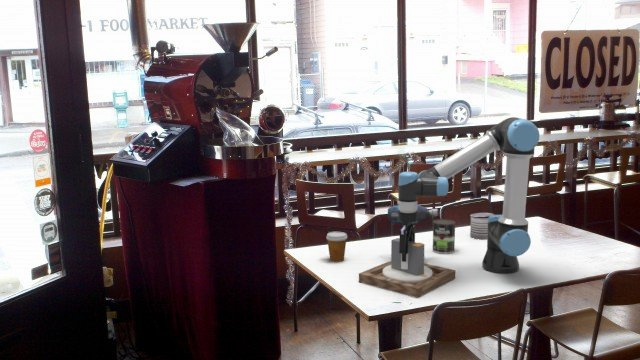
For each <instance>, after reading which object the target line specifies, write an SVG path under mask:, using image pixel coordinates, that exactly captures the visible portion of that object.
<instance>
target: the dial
mask: <svg viewBox="0 0 640 360" xmlns="http://www.w3.org/2000/svg"><path fill="white" fill-rule="evenodd" d="M390 241H391V243H390V244H391V245H390V246H391V247H390V248H391V250H390V251H391V253H390V254H391V256H390V261H391V265H389V266H386V267H385V268H384V269H383V277H386V278H391V279H394V280H398V281H402V282H406V283H410V284H418V283H420V282H422V281H424V280H427V279H429V278H431V277H432V270H431V269H430V268H428V267H426V266H424V263H425V243H422V242H416V241H415V242H411V241H409V242H408V270H407V269H401V253H399V242H400V237H397V238H393V239H391V240H390Z"/></svg>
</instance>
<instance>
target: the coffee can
mask: <svg viewBox="0 0 640 360" xmlns="http://www.w3.org/2000/svg"><path fill="white" fill-rule="evenodd" d="M432 225H433V226H432V227H433V228H432V252H433V253H436V254H441V255H442V254H443V255H448V254H449V255H450V254H454V253H455V248H456V247H455V246H456V245H455V241H456V239H455V238H456V221H454V220H452V219H446V218H445V219H443V218H441V219H434V220H433V221H432Z"/></svg>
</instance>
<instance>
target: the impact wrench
mask: <svg viewBox="0 0 640 360" xmlns="http://www.w3.org/2000/svg"><path fill="white" fill-rule="evenodd" d="M398 212H399V209H398V205H394V206H392V205H391V206H390V207H388V209H387V218H388V221H389V222H390V223H391V224H392V225H402V222H401V221H399V220H398ZM439 215H440V210H439V209H438V208H432V209H428V208H427V207H426V206H425V207H424V206H422V205H420V204H417V220H416V221H415V225H417V224H418V223H420V222H421V221H423V220H426V219H428V217H435V218H437V216H439ZM416 228H417V227H416V226H415V229H416Z"/></svg>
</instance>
